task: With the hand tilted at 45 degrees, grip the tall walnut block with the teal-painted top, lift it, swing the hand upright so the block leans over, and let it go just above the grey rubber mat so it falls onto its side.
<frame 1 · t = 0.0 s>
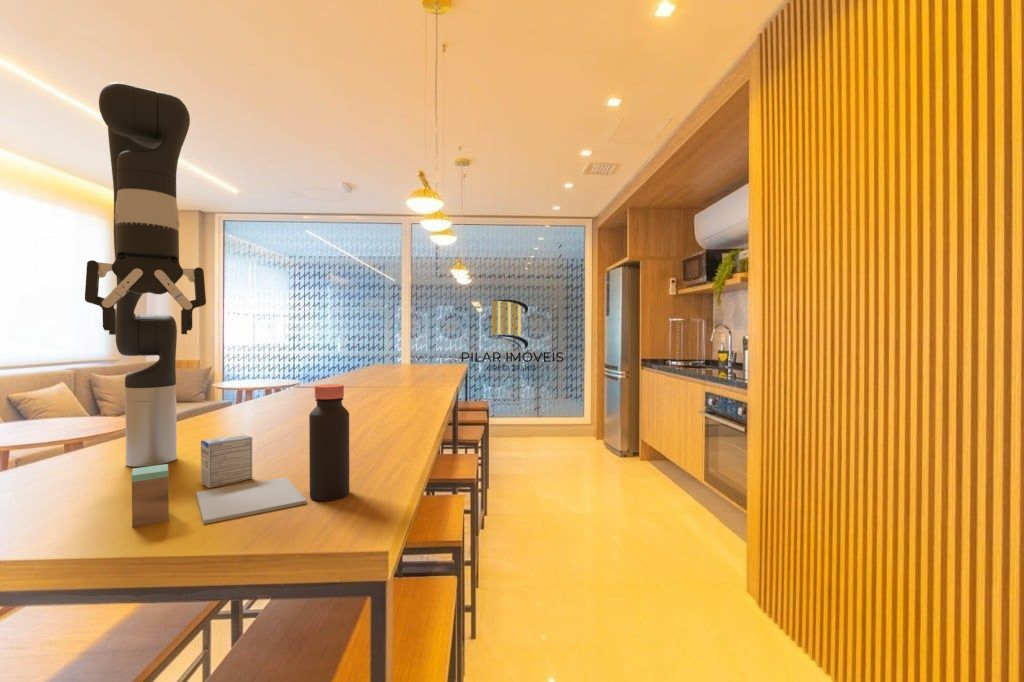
hand: (149, 334, 72), 29 cm above the table, tool pointing down, fingers open, 8 cm apart
walnut block: (151, 519, 76), on the table
bottle: (329, 496, 87), on the table
medicine box: (227, 482, 95), on the table
rubber mat: (250, 499, 85), on the table
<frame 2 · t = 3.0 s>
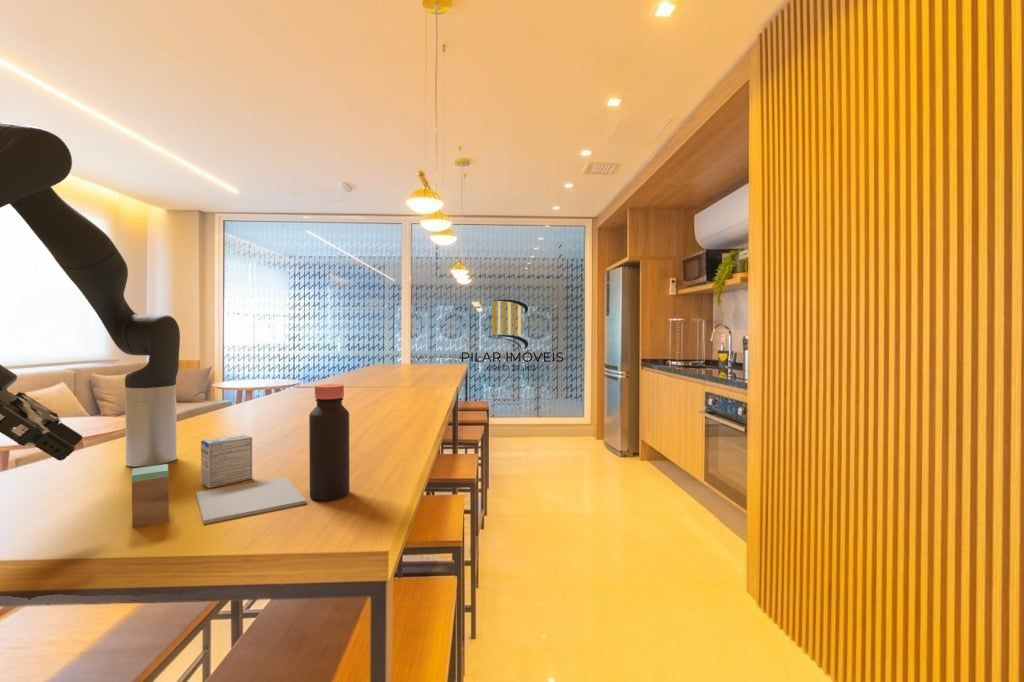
hand: (73, 448, 70), 13 cm above the table, tool tilted 45°, fingers open, 8 cm apart
nothing on the table moved.
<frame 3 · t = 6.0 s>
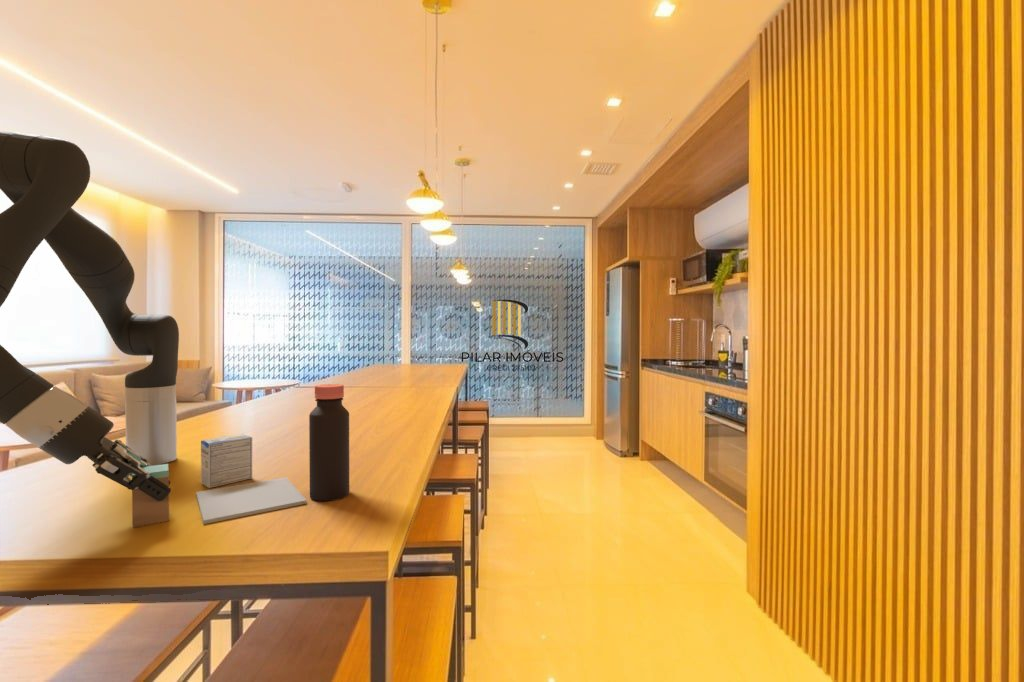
hand: (165, 491, 77), 4 cm above the table, tool tilted 45°, fingers closed on walnut block, 4 cm apart
walnut block: (151, 519, 76), on the table, touching gripper
everything else where it was.
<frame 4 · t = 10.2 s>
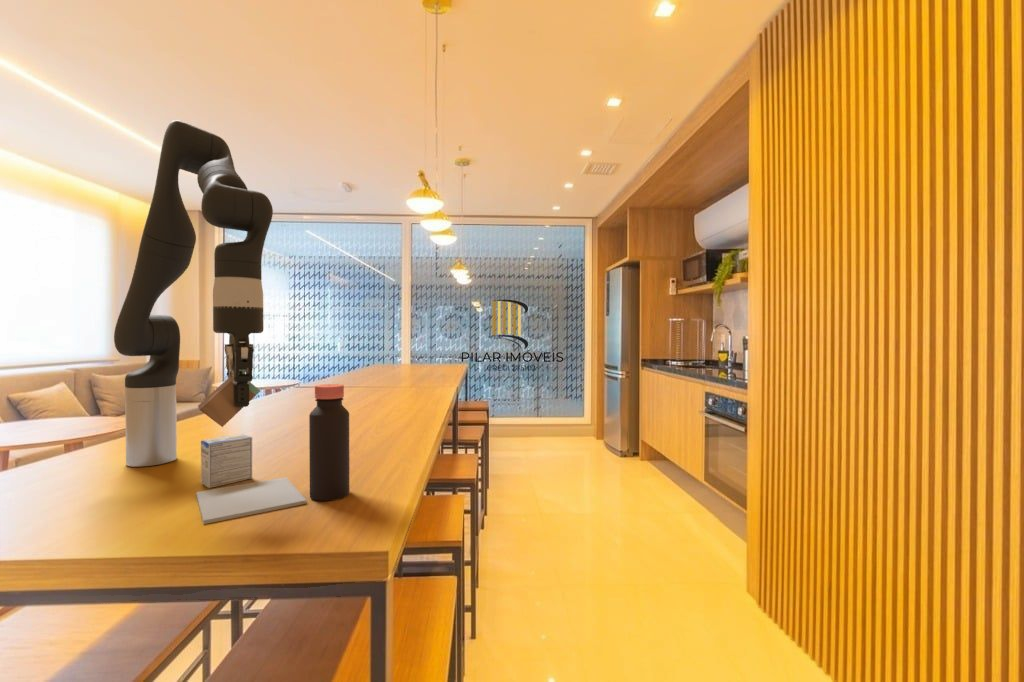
hand: (239, 404, 83), 17 cm above the table, tool pointing down, fingers closed on walnut block, 4 cm apart
walnut block: (209, 416, 80), point 16 cm above the table, tilted 45°, touching gripper
everything else where it was.
when the fingers open (4 cm above the table, at t = 13.6 s): walnut block moves 2 cm and tips over, resting on rubber mat.
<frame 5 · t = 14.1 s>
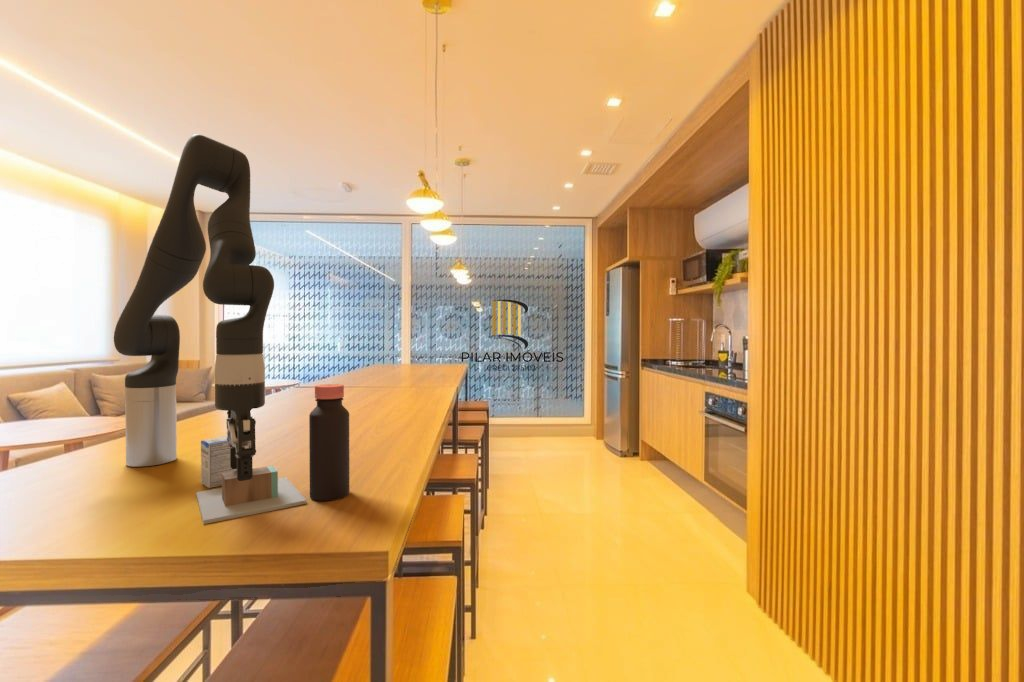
hand: (241, 473, 83), 5 cm above the table, tool pointing down, fingers open, 8 cm apart
walnut block: (223, 489, 81), point 3 cm above the table, tilted 90°, touching rubber mat
everything else where it was.
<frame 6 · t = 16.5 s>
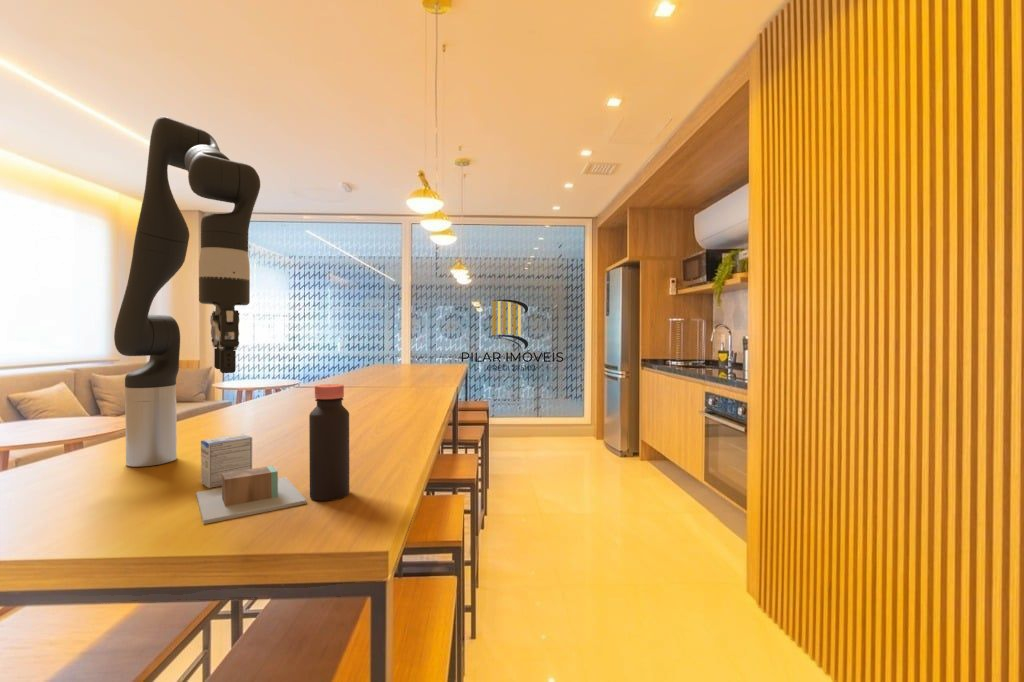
hand: (224, 370, 83), 23 cm above the table, tool pointing down, fingers open, 8 cm apart
nothing on the table moved.
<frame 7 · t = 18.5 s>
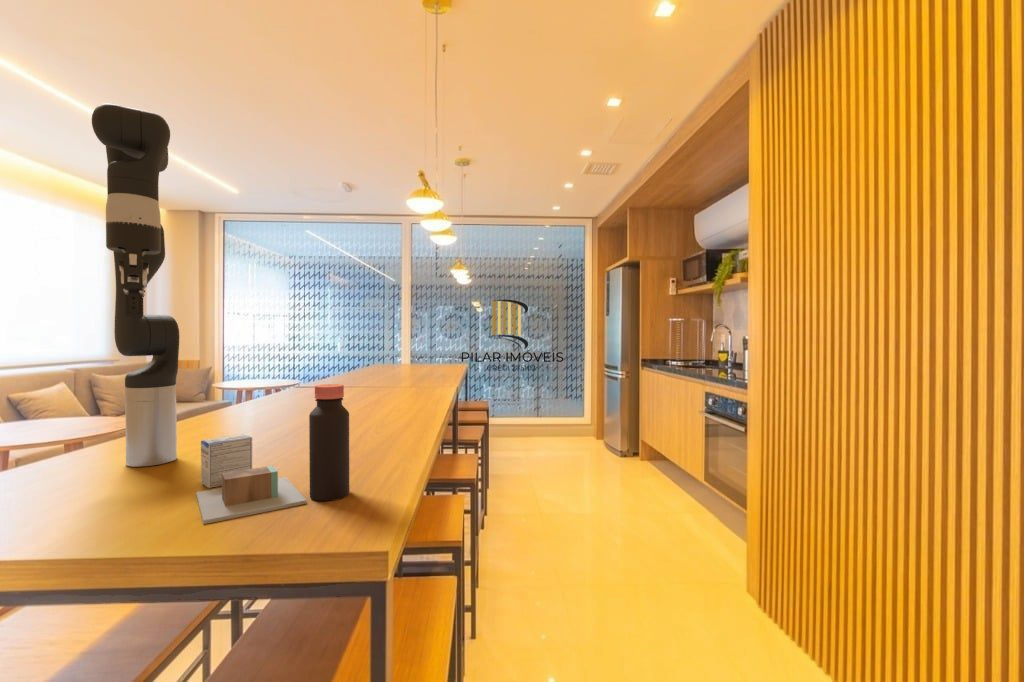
hand: (135, 317, 84), 32 cm above the table, tool pointing down, fingers open, 8 cm apart
nothing on the table moved.
at the end: walnut block tilted 90°; walnut block inside the target area (4.1 cm from its centre), point 2.8 cm above the table; the gripper is holding nothing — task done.
